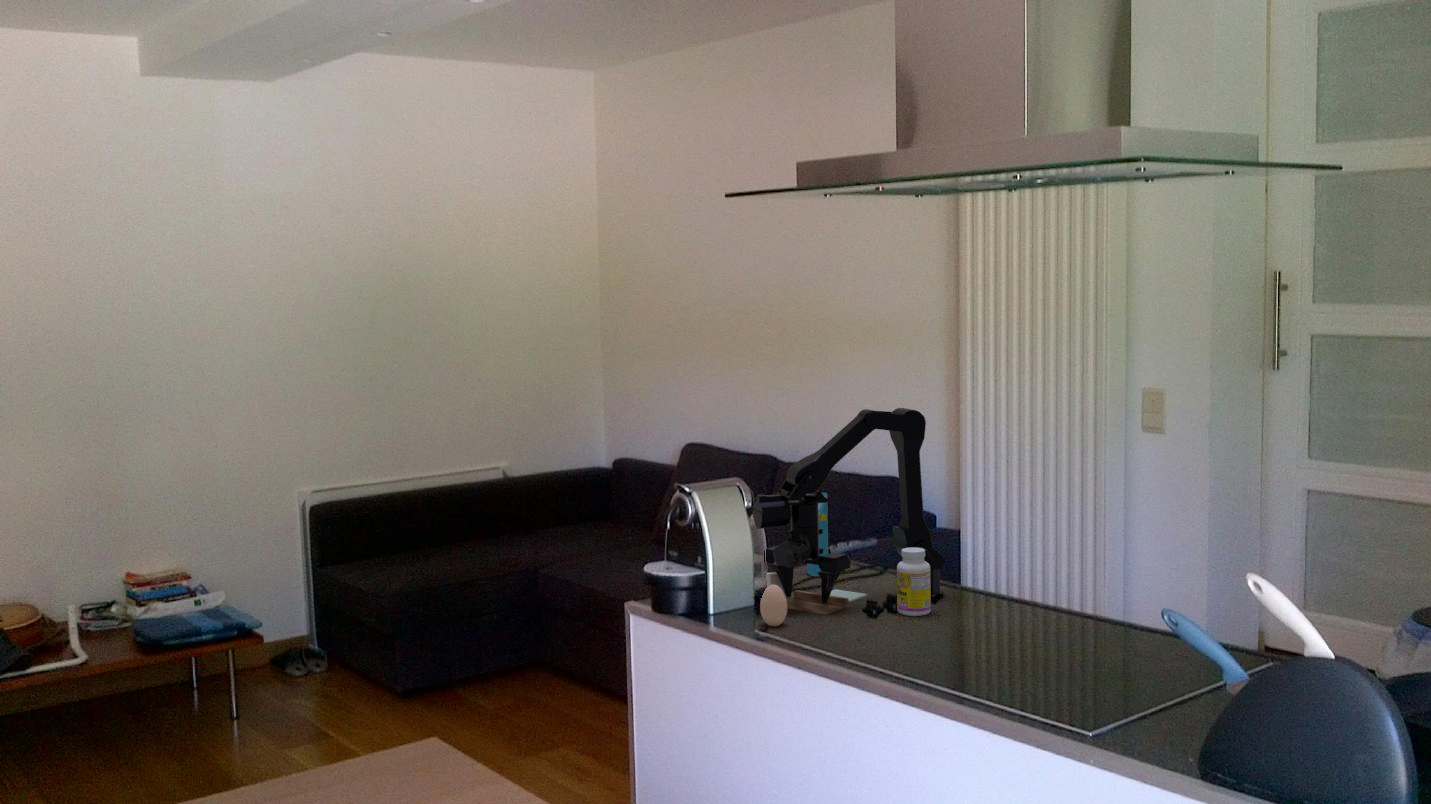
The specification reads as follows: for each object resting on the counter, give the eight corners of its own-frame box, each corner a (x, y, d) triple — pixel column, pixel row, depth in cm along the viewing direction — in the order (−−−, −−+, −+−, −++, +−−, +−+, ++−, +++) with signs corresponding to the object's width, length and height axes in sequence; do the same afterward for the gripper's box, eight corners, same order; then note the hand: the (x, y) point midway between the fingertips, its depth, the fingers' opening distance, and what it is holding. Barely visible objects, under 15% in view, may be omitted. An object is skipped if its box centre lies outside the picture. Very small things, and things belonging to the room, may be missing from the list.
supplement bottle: (893, 609, 256) (892, 547, 255) (925, 607, 256) (924, 545, 255) (902, 617, 249) (901, 553, 248) (935, 616, 250) (934, 552, 249)
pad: (867, 596, 267) (866, 594, 267) (845, 604, 261) (845, 601, 261) (835, 592, 272) (835, 589, 272) (814, 599, 266) (814, 596, 266)
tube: (799, 574, 291) (797, 491, 289) (813, 570, 294) (812, 488, 292) (823, 578, 285) (821, 494, 284) (837, 575, 289) (836, 491, 287)
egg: (758, 623, 247) (757, 582, 247) (784, 622, 248) (783, 580, 248) (763, 630, 242) (762, 588, 241) (790, 628, 243) (789, 586, 242)
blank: (786, 597, 265) (785, 573, 265) (771, 598, 263) (770, 574, 263) (768, 596, 270) (767, 572, 270) (753, 597, 268) (752, 574, 268)
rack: (848, 607, 258) (848, 598, 258) (826, 616, 252) (826, 606, 252) (797, 599, 266) (796, 590, 266) (774, 607, 260) (774, 597, 260)
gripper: (744, 526, 258) (746, 601, 260) (819, 536, 246) (820, 614, 248) (777, 518, 267) (779, 591, 268) (851, 527, 255) (852, 603, 256)
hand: (806, 600), depth 260 cm, fingers open, 9 cm apart
